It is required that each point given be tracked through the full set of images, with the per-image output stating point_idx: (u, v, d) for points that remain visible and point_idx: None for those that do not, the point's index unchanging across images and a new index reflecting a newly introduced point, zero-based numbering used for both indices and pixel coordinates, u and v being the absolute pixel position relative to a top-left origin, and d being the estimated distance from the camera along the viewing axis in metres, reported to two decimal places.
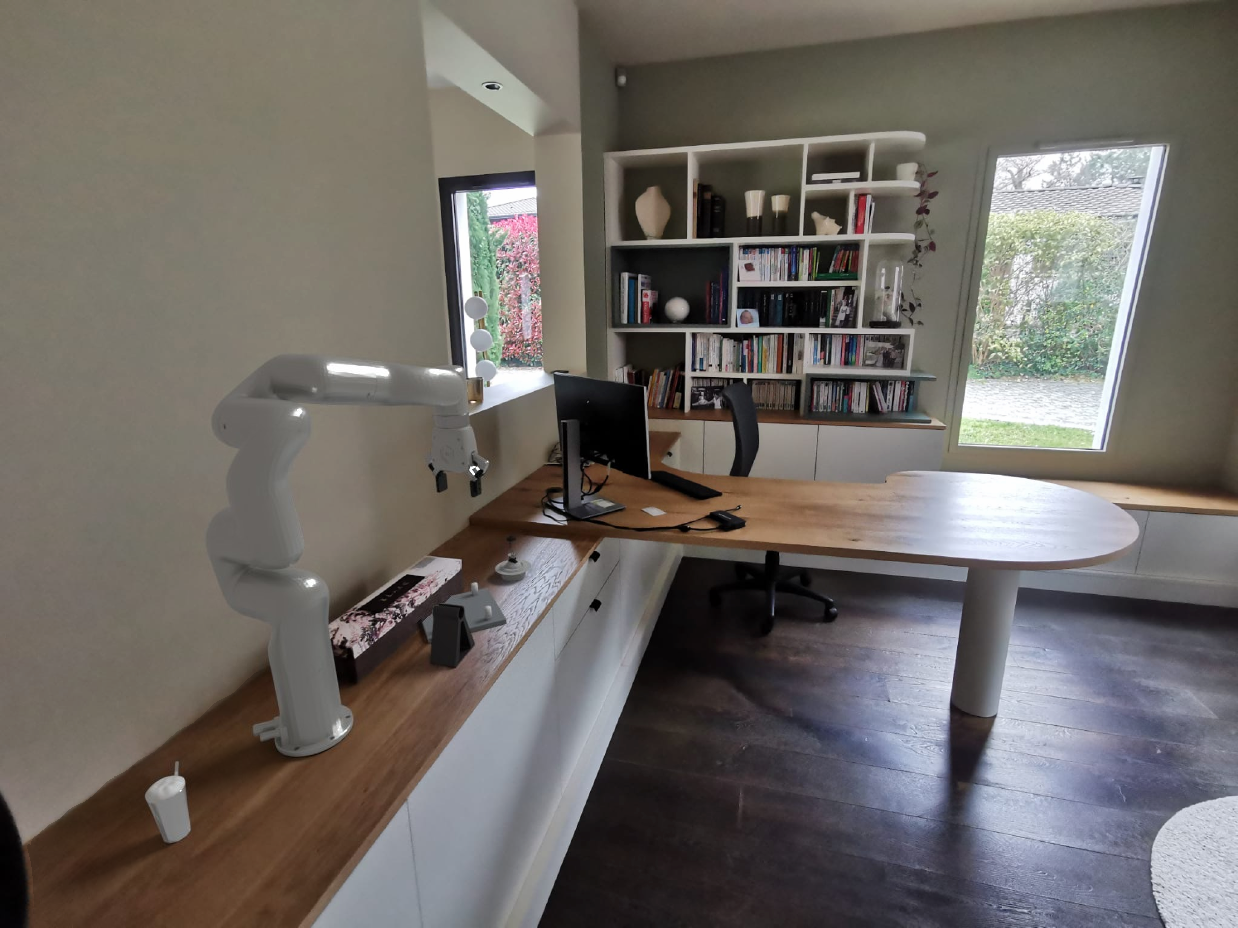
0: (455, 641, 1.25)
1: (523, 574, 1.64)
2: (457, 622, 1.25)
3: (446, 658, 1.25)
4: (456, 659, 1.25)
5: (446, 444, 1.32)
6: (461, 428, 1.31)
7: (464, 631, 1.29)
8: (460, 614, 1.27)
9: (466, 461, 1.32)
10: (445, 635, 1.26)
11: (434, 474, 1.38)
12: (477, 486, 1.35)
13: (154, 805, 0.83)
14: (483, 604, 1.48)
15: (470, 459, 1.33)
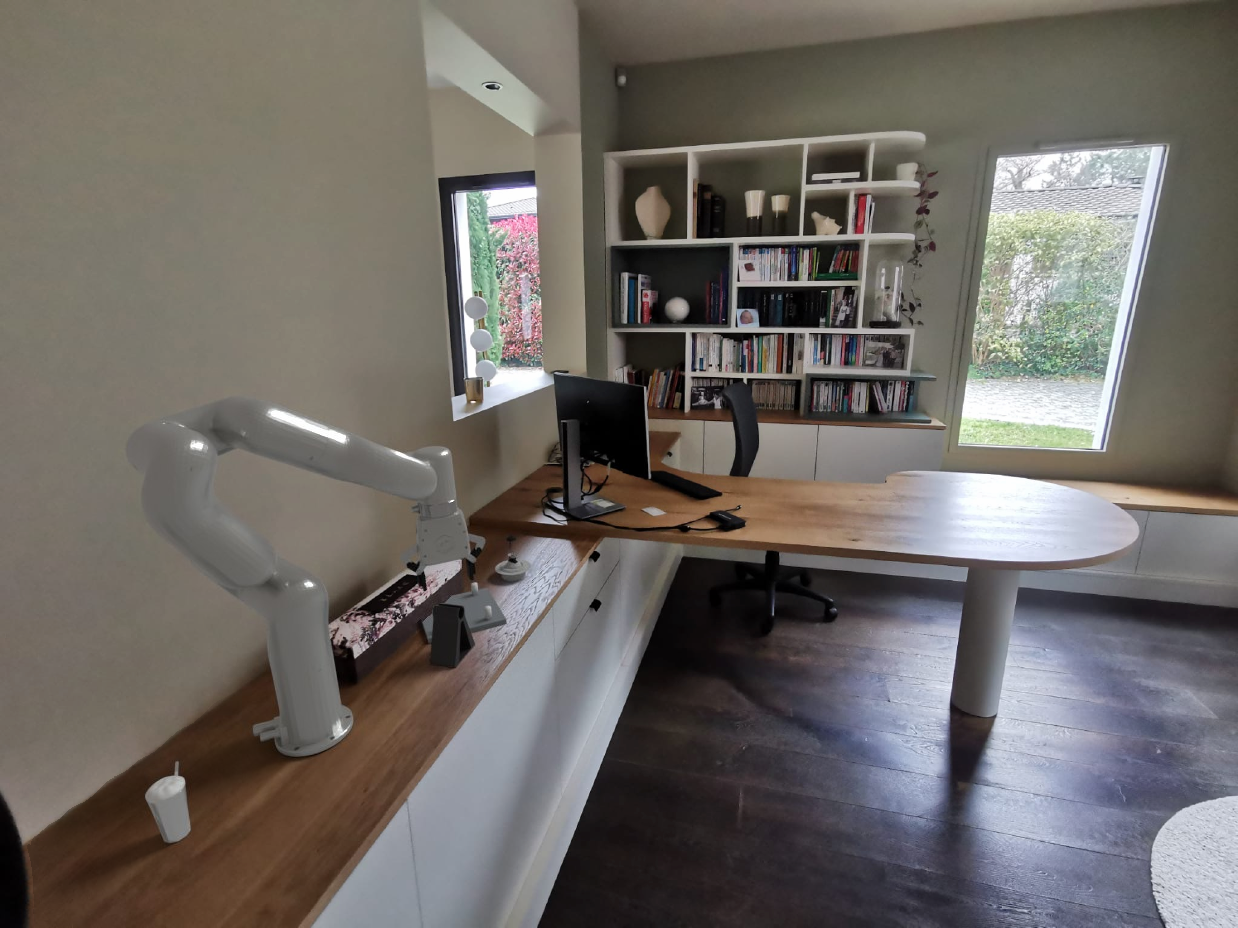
0: (455, 641, 1.25)
1: (523, 574, 1.64)
2: (457, 622, 1.25)
3: (446, 658, 1.25)
4: (456, 659, 1.25)
5: (444, 533, 1.19)
6: (457, 511, 1.21)
7: (464, 631, 1.29)
8: (460, 614, 1.27)
9: (469, 544, 1.23)
10: (445, 635, 1.26)
11: (418, 572, 1.21)
12: (474, 567, 1.27)
13: (154, 805, 0.83)
14: (483, 604, 1.48)
15: None
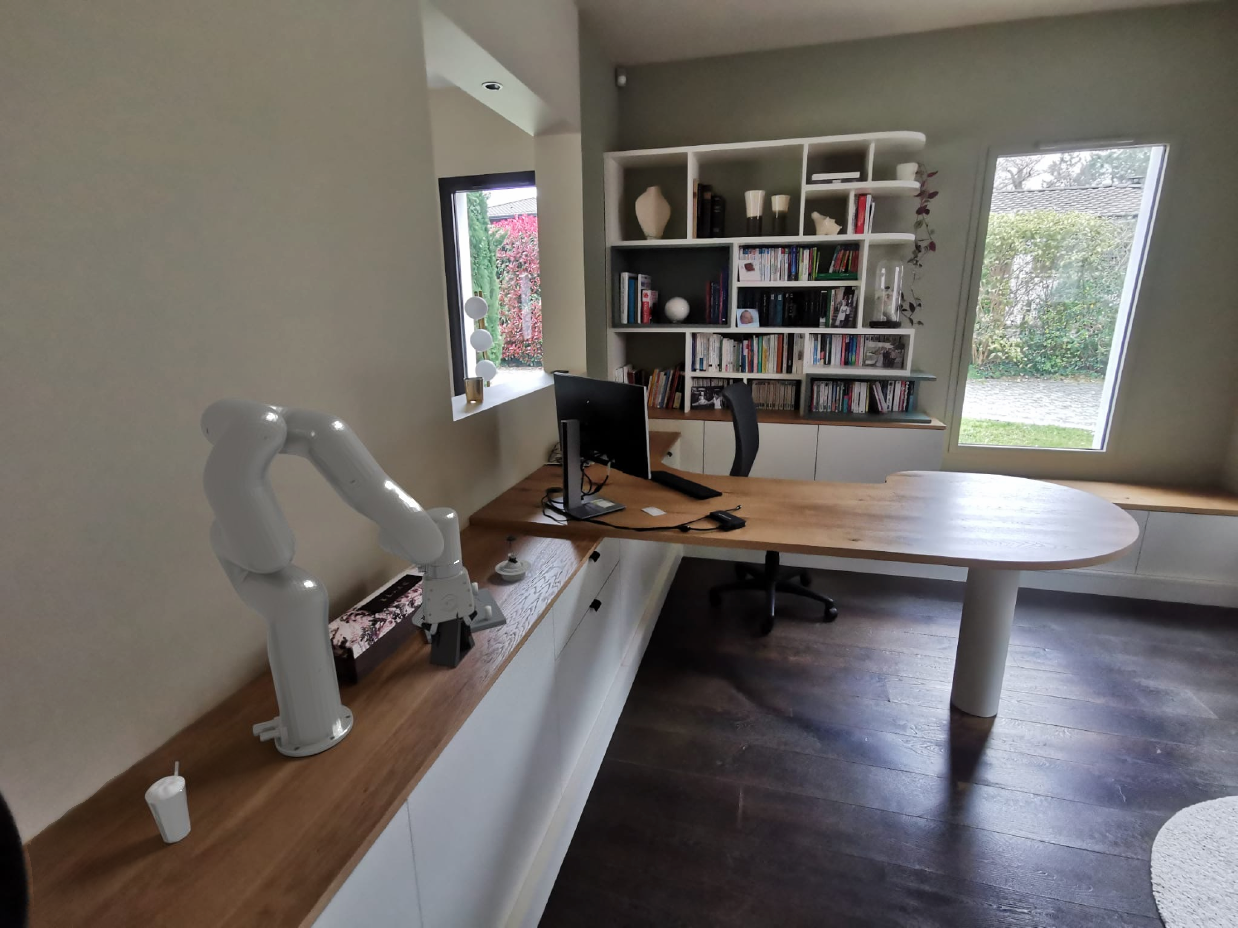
0: (455, 641, 1.25)
1: (523, 574, 1.64)
2: (457, 622, 1.25)
3: (446, 658, 1.25)
4: (456, 659, 1.25)
5: (449, 592, 1.23)
6: (462, 570, 1.24)
7: None
8: None
9: (473, 602, 1.26)
10: (445, 635, 1.26)
11: (433, 632, 1.25)
12: None
13: (154, 805, 0.83)
14: None
15: (472, 598, 1.27)
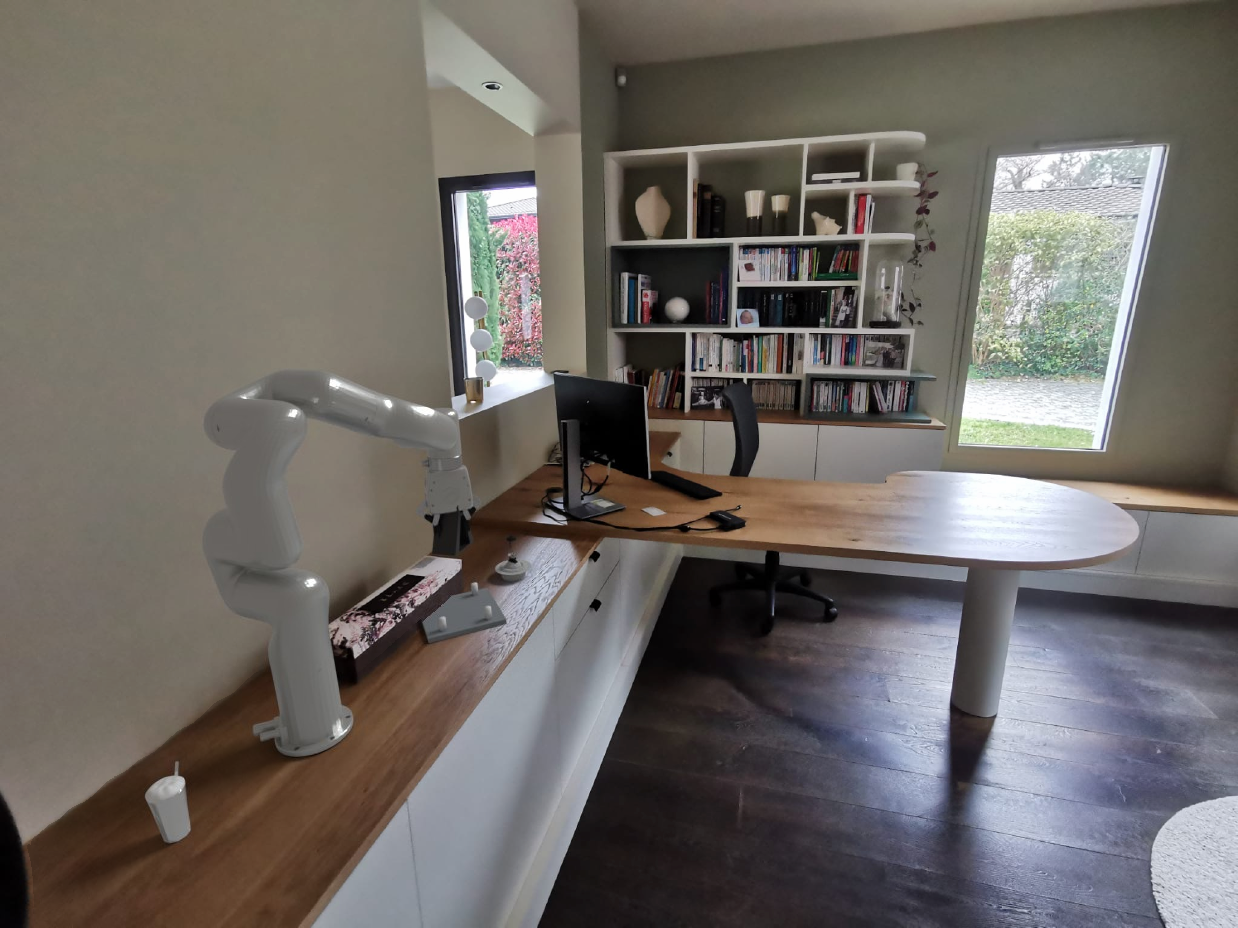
0: (455, 532, 1.36)
1: (523, 574, 1.64)
2: (457, 514, 1.36)
3: (447, 547, 1.36)
4: (457, 548, 1.36)
5: (450, 485, 1.34)
6: (462, 467, 1.35)
7: (463, 526, 1.40)
8: None
9: (472, 497, 1.37)
10: (447, 527, 1.37)
11: (435, 524, 1.36)
12: None
13: (154, 805, 0.83)
14: (483, 604, 1.48)
15: (472, 494, 1.38)
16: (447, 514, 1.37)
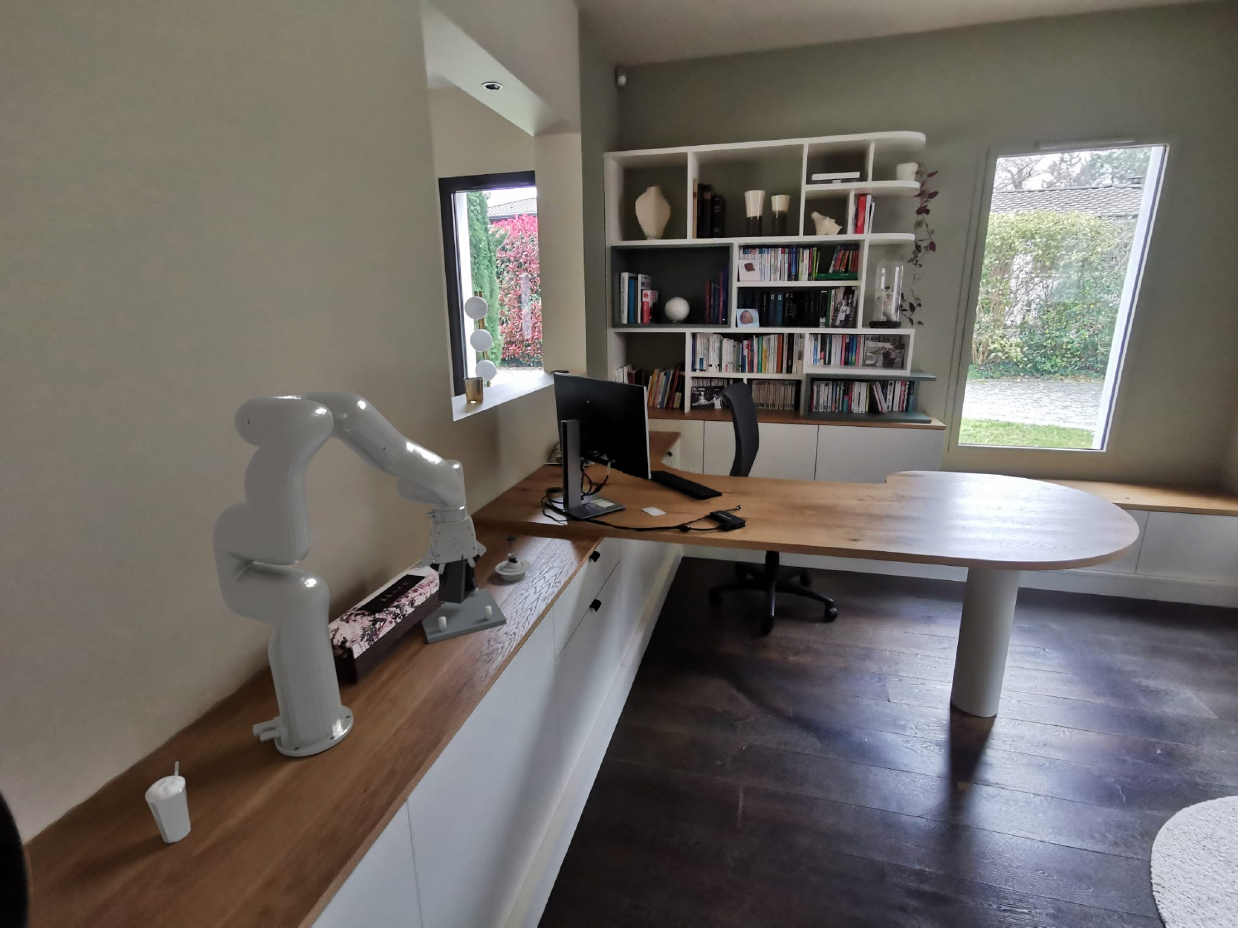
0: (460, 580, 1.39)
1: (523, 574, 1.64)
2: (462, 563, 1.40)
3: (452, 595, 1.40)
4: (461, 596, 1.40)
5: (455, 535, 1.37)
6: (467, 516, 1.39)
7: None
8: None
9: (476, 545, 1.40)
10: (452, 575, 1.40)
11: (440, 572, 1.39)
12: (473, 571, 1.44)
13: (154, 805, 0.83)
14: (483, 604, 1.48)
15: (476, 543, 1.42)
16: (452, 562, 1.40)
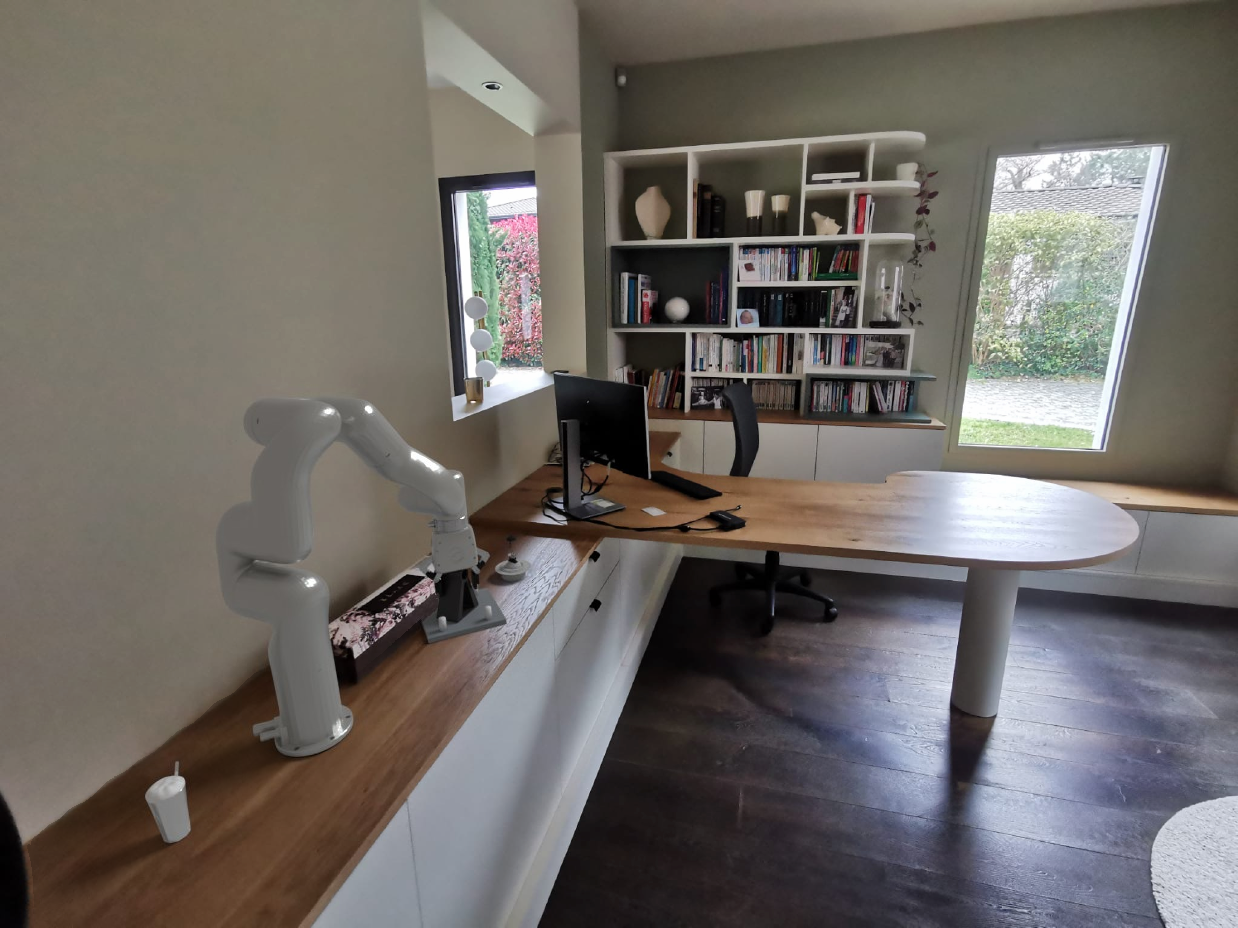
0: (458, 599, 1.40)
1: (523, 574, 1.64)
2: (460, 582, 1.40)
3: (450, 613, 1.40)
4: (459, 615, 1.40)
5: (455, 545, 1.38)
6: (467, 526, 1.39)
7: (467, 591, 1.44)
8: (464, 576, 1.42)
9: (477, 555, 1.41)
10: (450, 593, 1.41)
11: (436, 581, 1.39)
12: (478, 577, 1.45)
13: (154, 805, 0.83)
14: (483, 604, 1.48)
15: (476, 552, 1.42)
16: (451, 581, 1.41)
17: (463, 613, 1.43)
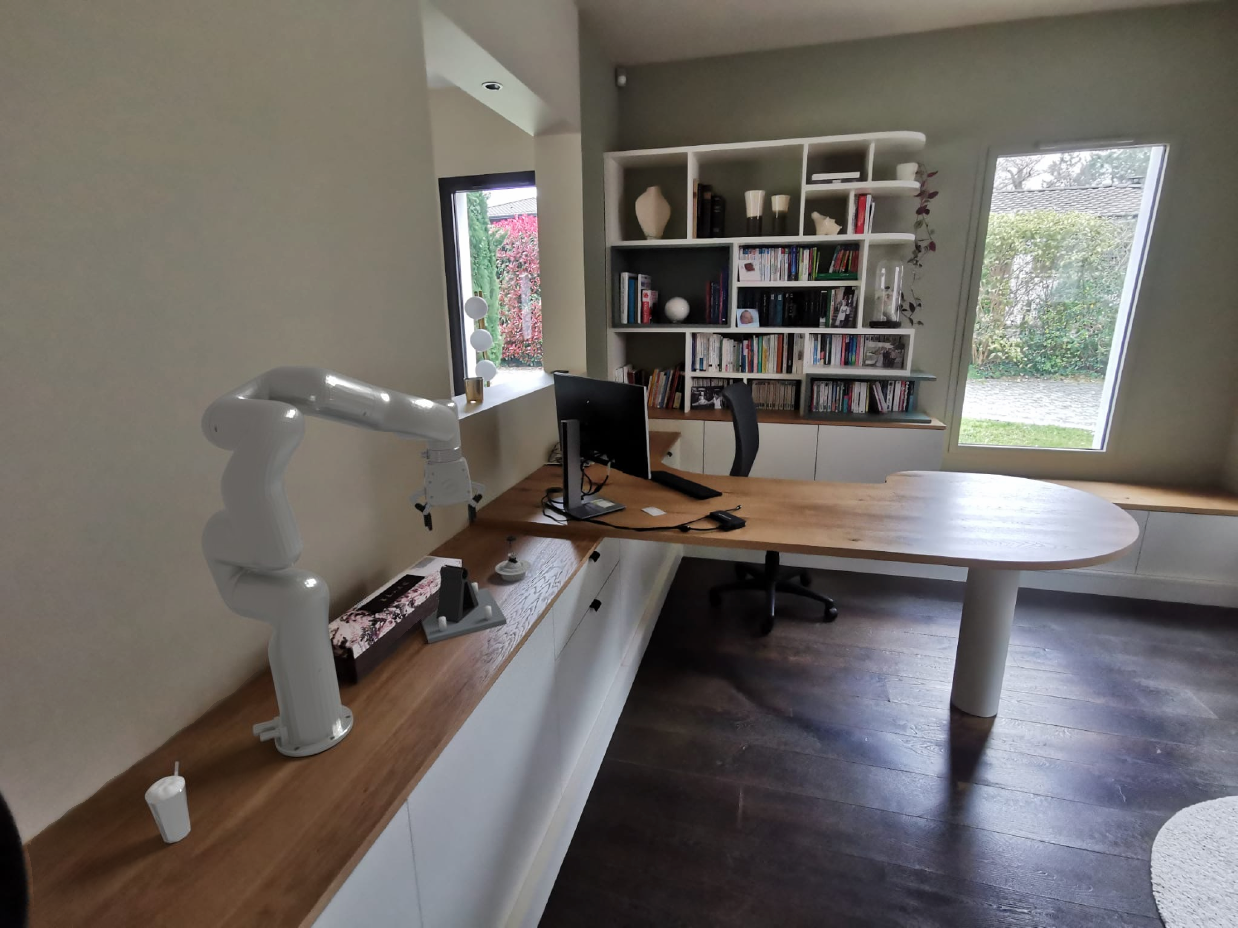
0: (458, 599, 1.40)
1: (523, 574, 1.64)
2: (461, 582, 1.40)
3: (450, 613, 1.40)
4: (459, 615, 1.40)
5: (449, 477, 1.33)
6: (461, 458, 1.35)
7: (468, 591, 1.44)
8: (464, 576, 1.42)
9: (471, 489, 1.37)
10: (451, 593, 1.41)
11: (425, 513, 1.34)
12: (475, 511, 1.40)
13: (154, 805, 0.83)
14: (483, 604, 1.48)
15: (471, 486, 1.38)
16: (451, 581, 1.41)
17: (463, 613, 1.43)
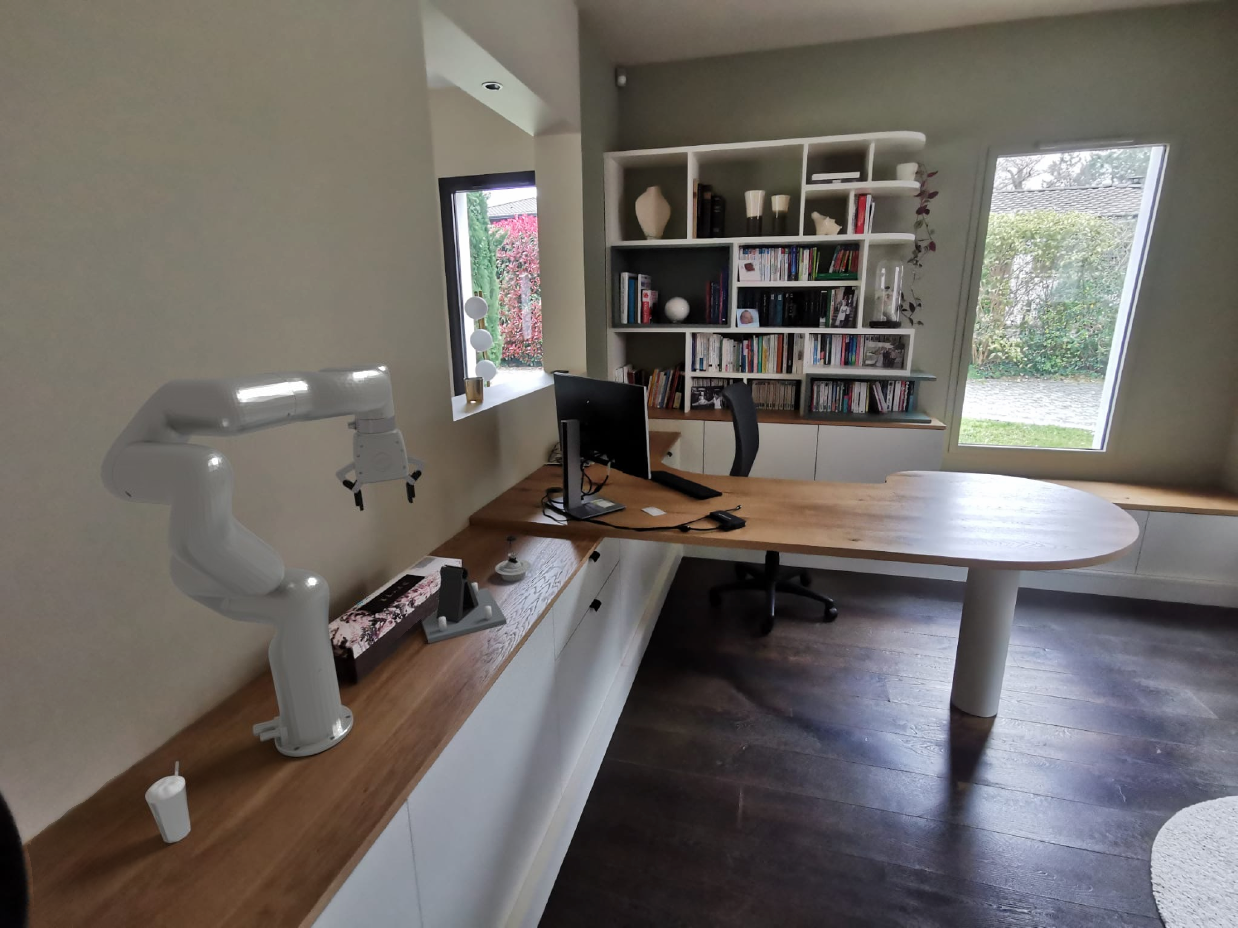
0: (458, 599, 1.40)
1: (523, 574, 1.64)
2: (461, 582, 1.40)
3: (450, 613, 1.40)
4: (459, 615, 1.40)
5: (380, 451, 1.19)
6: (395, 430, 1.20)
7: (468, 591, 1.44)
8: (464, 576, 1.42)
9: (407, 464, 1.22)
10: (451, 593, 1.41)
11: (355, 491, 1.20)
12: None
13: (154, 805, 0.83)
14: (483, 604, 1.48)
15: (407, 462, 1.23)
16: (451, 581, 1.41)
17: (463, 613, 1.43)
